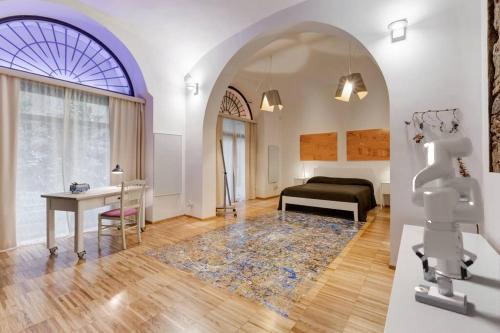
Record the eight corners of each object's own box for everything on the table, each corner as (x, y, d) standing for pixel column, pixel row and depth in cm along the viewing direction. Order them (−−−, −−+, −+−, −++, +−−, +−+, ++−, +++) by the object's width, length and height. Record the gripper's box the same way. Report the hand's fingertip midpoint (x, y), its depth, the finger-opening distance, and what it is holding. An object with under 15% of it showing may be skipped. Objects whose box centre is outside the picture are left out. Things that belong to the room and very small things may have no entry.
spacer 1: (424, 276, 97) (423, 265, 97) (436, 279, 94) (435, 267, 95) (423, 280, 94) (422, 267, 95) (435, 282, 91) (434, 270, 92)
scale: (417, 288, 87) (416, 281, 88) (467, 301, 78) (466, 293, 78) (412, 299, 80) (411, 291, 81) (466, 314, 71) (465, 305, 71)
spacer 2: (439, 289, 81) (437, 275, 81) (454, 293, 78) (452, 278, 78) (437, 294, 78) (436, 279, 78) (453, 298, 75) (451, 282, 75)
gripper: (474, 225, 76) (479, 277, 75) (411, 220, 88) (416, 265, 88) (474, 231, 70) (479, 286, 70) (407, 225, 83) (412, 272, 82)
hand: (444, 274), depth 79 cm, fingers open, 9 cm apart
